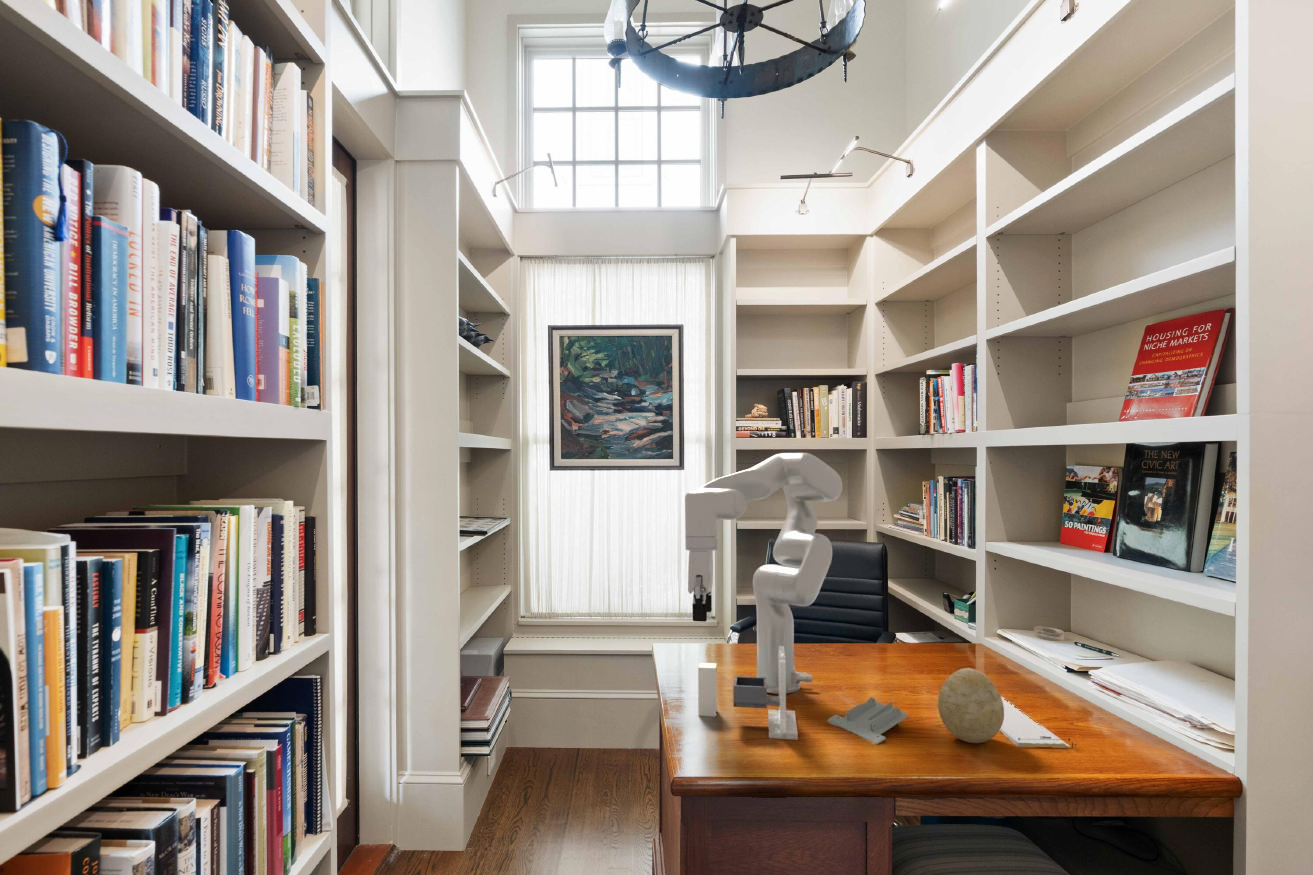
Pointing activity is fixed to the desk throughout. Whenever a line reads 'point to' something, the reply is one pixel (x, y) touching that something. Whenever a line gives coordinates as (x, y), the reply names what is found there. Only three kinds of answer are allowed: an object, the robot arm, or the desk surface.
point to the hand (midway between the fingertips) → (702, 616)
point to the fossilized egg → (971, 706)
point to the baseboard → (1027, 730)
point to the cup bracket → (767, 701)
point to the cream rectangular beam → (707, 689)
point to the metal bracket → (870, 720)
